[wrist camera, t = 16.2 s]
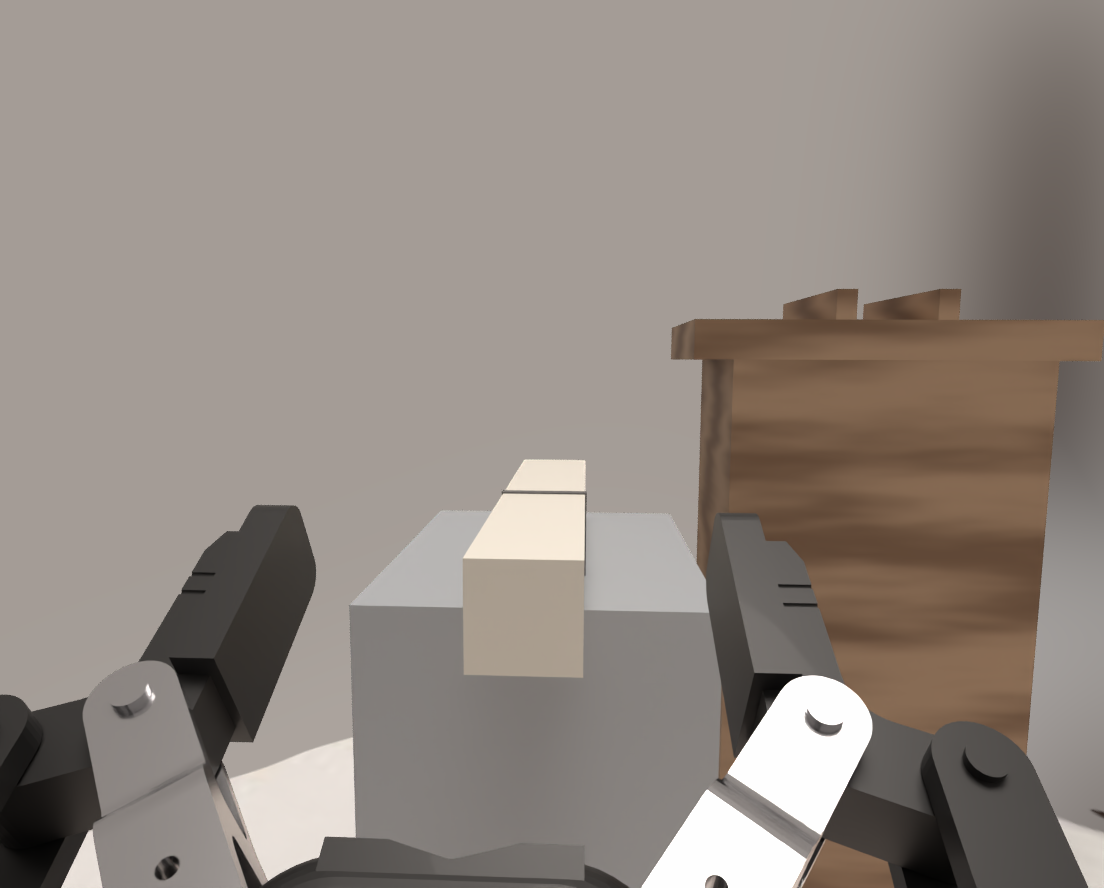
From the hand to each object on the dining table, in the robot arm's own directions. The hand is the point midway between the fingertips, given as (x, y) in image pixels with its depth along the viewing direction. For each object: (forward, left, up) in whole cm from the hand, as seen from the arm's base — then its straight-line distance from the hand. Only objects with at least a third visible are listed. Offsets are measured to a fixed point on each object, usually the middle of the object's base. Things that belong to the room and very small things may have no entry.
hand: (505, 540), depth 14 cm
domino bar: (-9, +9, -4) cm, 13 cm away
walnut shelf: (-8, +32, -26) cm, 43 cm away
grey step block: (-12, +11, -26) cm, 31 cm away
